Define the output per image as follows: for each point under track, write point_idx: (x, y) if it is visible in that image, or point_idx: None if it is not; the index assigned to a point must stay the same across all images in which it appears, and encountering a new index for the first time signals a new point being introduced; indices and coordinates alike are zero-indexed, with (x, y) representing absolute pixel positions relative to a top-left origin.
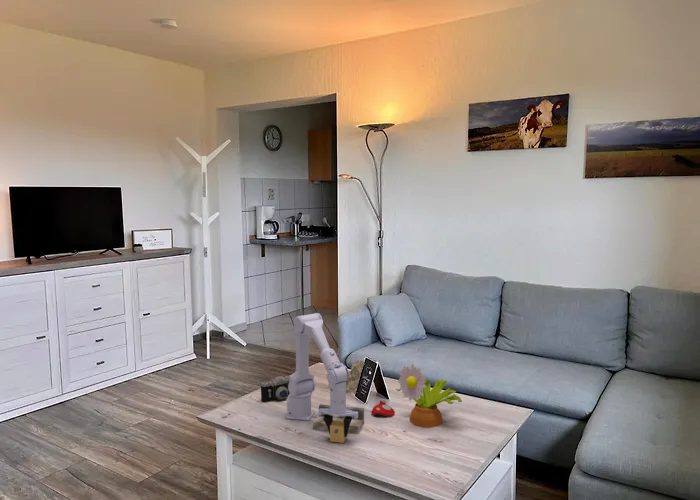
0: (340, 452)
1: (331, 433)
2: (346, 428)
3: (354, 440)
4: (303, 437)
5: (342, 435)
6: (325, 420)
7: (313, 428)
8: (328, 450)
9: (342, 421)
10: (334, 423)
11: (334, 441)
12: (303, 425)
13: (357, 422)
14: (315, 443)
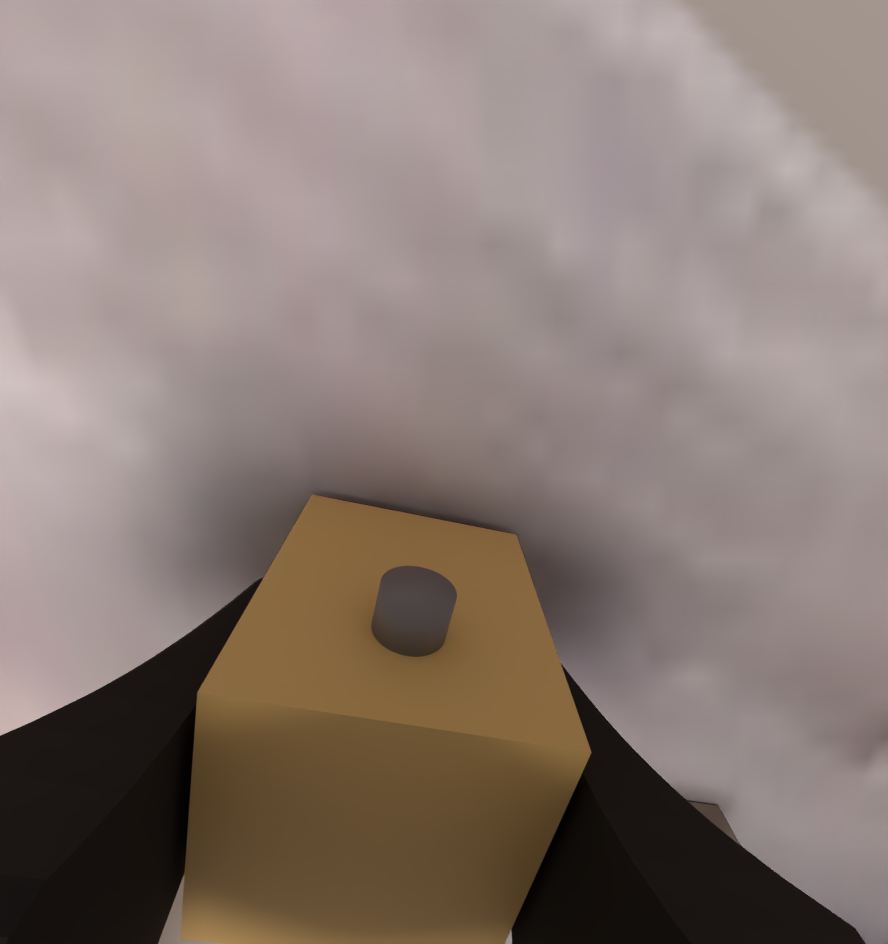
0: (329, 186)
1: (515, 605)
2: (150, 673)
3: (171, 578)
4: (860, 645)
5: (296, 554)
6: (800, 928)
7: (717, 818)
8: (541, 267)
9: (277, 916)
10: (468, 839)
11: (452, 522)
12: (805, 872)
13: (171, 925)
14: (727, 495)
